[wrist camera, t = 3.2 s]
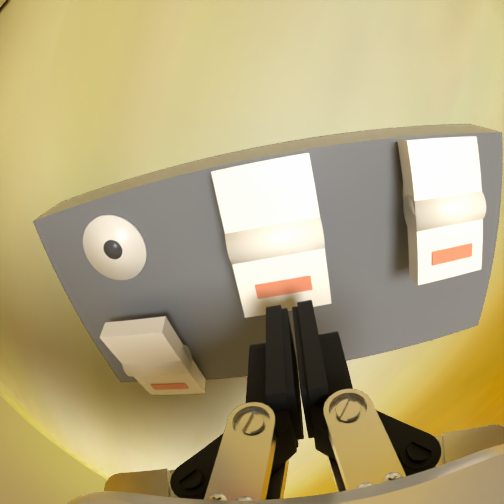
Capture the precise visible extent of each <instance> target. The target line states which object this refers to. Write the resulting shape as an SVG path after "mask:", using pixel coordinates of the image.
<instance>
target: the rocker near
mask: <svg viewBox="0 0 504 504" xmlns="http://www.w3.org/2000/svg"><path fill="white" fill-rule="evenodd" d="M397 143H398V149H399V155H400V162H401V169H402V177H403V185H404V194H405V198H404V203H403V210H404V217H405V221H406V224H407V229H408V247H409V277H410V278H411V279H412V280H413V281H414V282H415V283H416V284H417V285H422V284H426V283H430V282H435V281H439V280H443V279H447V278H451V277H454V276H458V275H462V274H466V273H470V272H473V271H477V270H481V267H482V246H483V218H484V217H485V214H486V200H485V197H484V194H483V192H482V185H481V171H480V161H479V152H478V144H477V137H476V136H463V137H443V138H428V139H415V140H404V141H397Z"/></svg>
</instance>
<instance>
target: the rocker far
mask: <svg viewBox="0 0 504 504" xmlns="http://www.w3.org/2000/svg"><path fill="white" fill-rule="evenodd" d="M100 339H101V340H102V341H103V342H104V343H105V345H106V346H107V347H108V348H109V349H110V351H111V352H112V353H113V354H114V355H115V356H116V358H117V359H118V360H119V361H120V362H121V363H122V366H123V369H124V372H125V373H126V374H127V375H128V376H133V377H134V378H135V379H136V380H137V381H138V382H139V383H140V384H141V385H142V386H143V387H144V388H145V389H146V390H147V391H148V392H149V393H150V394H151V395H175V394H201V393H205V381H206V379H205V377H204V376H203V375H202V373H201V372H200V370H199V369H198V367H197V365H196V364H195V362H194V361H193V359H192V356H191V352H190V350H189V348H188V346H187V345H183V344H182V342H181V340H180V339H179V337H178V336H177V334H176V332H175V331H174V329H173V327H172V326H171V324H170V323H169V321H168V319H167V317H166V316H163V317H154V318H145V319H136V320H126V321H116V322H105V324H104V327H103V330H102V332H101V335H100Z"/></svg>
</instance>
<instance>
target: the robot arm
mask: <svg viewBox="0 0 504 504" xmlns="http://www.w3.org/2000/svg"><path fill="white" fill-rule="evenodd" d="M5 1H6V0H0V7H1V6H2V5H3V3H4V2H5ZM292 314H293V323H294V332H295V342H296V351H297V359H296V353H295V347H294V342H293V336H292V331H291V325H290V320H289V314H288V309H287V308H283V309H282V307H281V305H277V306H270V307H266V343H261V344H253V345H250V347H249V361H248V377H247V392H246V404H243V405H240V406H239V407H237V408H236V409H234V411H233V412H232V413H231V414H230V416H229V418H228V420H227V424H226V427H225V430H224V433H223V434H222V435H220V436H219V437H218V438H217V439H215V440H214V441H213V442H211V443H210V444H209V445H207V446H206V447H205V448H203V449H202V450H201V451H199V452H198V453H197V454H195V455H194V456H193V457H191V458H190V459H189V460H187V461H186V462H184V463H183V464H182V465H180V466H179V467H178V468H177V469H176V470H171V471H169V470H168V469H161V470H152V471H142V472H130V473H119V474H115V475H113V476H111V477H110V478H109V479H108V480H107V482H106V484H105V488H104V491H103V492H94V493H89V494H85V495H82V496H78V497H76V498H75V499H73V500H71V501H70V502H69V503H68V504H504V427H503V426H501V425H489V426H484V427H478V428H473V429H467V430H461V431H455V432H448V433H443V435H442V436H435V437H434V436H432V435H431V434H429V433H426V432H424V431H421V430H419V429H417V428H414V427H412V426H410V425H408V424H405V423H403V422H401V421H398V420H396V419H394V418H392V417H390V416H387V415H385V414H383V413H381V412H379V411H377V410H376V409H375V407H374V405H373V403H372V401H371V399H370V398H369V396H368V395H367V394H365V393H364V392H362V391H360V390H357V389H353V388H352V384H351V379H350V375H349V371H348V367H347V363H346V359H345V355H344V352H343V348H342V344H341V340H340V336H339V333H338V331H336V332H331V333H325V334H318V329H317V323H316V318H315V314H314V309H313V304H312V300H307V301H301V302H297V306H295V307H292ZM297 361H298V366H297ZM298 371H299V377H298ZM299 382H300V387H299ZM300 390H301V397H302V403H303V408H304V414H305V420H306V426H307V432H308V438H313V437H314V439H315V447H316V449H317V450H318V451H320V452H322V453H323V454H325V455H327V459H328V463H329V466H330V469H331V472H332V476H333V479H334V482H335V486H336V489H337V492H336V493H329V494H323V495H315V496H307V497H298V498H287V499H283V495H284V489H285V483H286V477H287V471H288V464H289V461H288V459H289V458H290V457H291V456H292V455H294V454H295V453H296V452H297V449H296V448H297V447H298V439H304V435H303V423H302V410H301V399H300Z"/></svg>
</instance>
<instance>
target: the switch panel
mask: <svg viewBox="0 0 504 504" xmlns="http://www.w3.org/2000/svg"><path fill="white" fill-rule="evenodd" d="M463 136H476V137H477V144H478V152H479V161H480V171H481V185H482V192H483V194H484V197H485V200H486V214H485V217H484V218H483V246H482V267H481V270H477V271H473V272H470V273H466V274H462V275H458V276H454V277H451V278H447V279H443V280H439V281H435V282H430V283H426V284H422V285H417V284H416V283H415V282H414V281H413V280H412V279H411V278H410V277H409V247H408V229H407V224H406V221H405V217H404V210H403V203H404V198H405V194H404V185H403V177H402V169H401V162H400V155H399V149H398V143H397V141H404V140H415V139H428V138H443V137H463ZM303 153H309V156H310V161H311V166H312V172H313V178H314V183H315V189H316V195H317V201H318V207H319V213H320V218H321V223H322V227H323V233H324V241H325V254H326V262H327V269H328V277H329V286H330V294H331V303H332V304H327V305H321V306H315V307H313V309H314V314H315V318H316V323H317V329H318V334H325V333H331V332H336V331H338V333H339V336H340V340H341V344H342V348H343V352H344V355H345V359H346V361H347V360H352V359H357V358H362V357H366V356H371V355H375V354H379V353H384V352H388V351H392V350H396V349H400V348H404V347H408V346H411V345H415V344H419V343H422V342H426V341H429V340H433V339H436V338H440V337H443V336H446V335H449V334H453V333H456V332H459V331H462V330H465V329H468V328H471V327H474V326H477V325H478V323H479V319H480V316H481V312H482V308H483V305H484V301H485V296H486V292H487V288H488V283H489V279H490V274H491V269H492V263H493V258H494V252H495V246H496V239H497V231H498V223H499V214H500V203H501V188H502V132H498V131H495V130H491V129H487V128H483V127H479V126H475V125H471V124H450V125H427V126H411V127H398V128H387V129H376V130H367V131H358V132H349V133H341V134H334V135H327V136H320V137H313V138H307V139H300V140H294V141H288V142H283V143H277V144H272V145H266V146H261V147H256V148H251V149H246V150H241V151H237V152H232V153H227V154H223V155H218V156H214V157H210V158H206V159H201V160H197V161H193V162H189V163H185V164H181V165H178V166H174V167H170V168H166V169H163V170H159V171H155V172H152V173H148V174H145V175H141V176H138V177H135V178H131V179H128V180H125V181H122V182H118V183H115V184H112V185H109V186H106V187H103V188H100V189H97V190H94V191H91V192H88V193H85V194H82V195H79V196H76V197H74V198H71V199H68V200H65V201H63V202H61V203H59V204H57V205H56V206H54V207H53V208H51V209H50V210H49V211H47V212H46V213H44V214H43V215H41V216H40V217H38V218H37V219H36V220H34V221H33V222H34V225H35V227H36V230H37V232H38V235H39V237H40V239H41V242H42V244H43V246H44V249H45V251H46V253H47V255H48V257H49V260H50V262H51V264H52V266H53V268H54V270H55V272H56V274H57V276H58V278H59V280H60V282H61V284H62V286H63V288H64V290H65V292H66V294H67V296H68V298H69V300H70V301H71V303H72V305H73V307H74V309H75V311H76V312H77V314H78V316H79V318H80V319H81V321H82V323H83V325H84V326H85V328H86V330H87V331H88V333H89V335H90V336H91V338H92V340H93V341H94V343H95V344H96V346H97V348H98V349H99V351H100V352H101V354H102V355H103V357H104V358H105V360H106V361H107V363H108V364H109V366H110V367H111V369H112V370H113V372H114V373H115V375H116V376H117V378H118V379H119V380H120V382H138V381H137V380H136V379H135V378H134V377H133V376H128V375H127V374H126V373H125V372H124V369H123V366H122V363H121V362H120V361H119V360H118V359H117V358H116V356H115V355H114V354H113V353H112V352H111V351H110V349H109V348H108V347H107V346H106V345H105V343H104V342H103V341H102V340H101V339H100V335H101V332H102V330H103V327H104V324H105V322H116V321H126V320H136V319H145V318H154V317H163V316H166V317H167V319H168V321H169V323H170V324H171V326H172V327H173V329H174V331H175V332H176V334H177V336H178V337H179V339H180V340H181V342H182V344H183V345H187V346H188V348H189V350H190V352H191V356H192V359H193V361H194V362H195V364H196V365H197V367H198V369H199V370H200V372H201V373H202V375H203V376H204V377H205V379H206V380H207V379H220V378H231V377H241V376H248V361H249V347H250V345H253V344H261V343H266V315H261V316H254V317H247V318H245V316H244V312H243V308H242V304H241V300H240V295H239V291H238V287H237V283H236V279H235V275H234V270H233V266H232V264H231V262H230V259H229V256H228V252H227V247H226V241H225V232H224V228H223V223H222V219H221V215H220V210H219V206H218V201H217V197H216V192H215V188H214V184H213V179H212V174H211V172H212V171H216V170H220V169H225V168H229V167H234V166H239V165H244V164H249V163H254V162H259V161H264V160H269V159H274V158H280V157H285V156H291V155H297V154H303ZM288 314H289V320H290V325H291V331H292V336H293V342H294V347H295V353H296V359H297V351H296V342H295V332H294V323H293V314H292V311H288ZM297 366H298V361H297Z"/></svg>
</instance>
